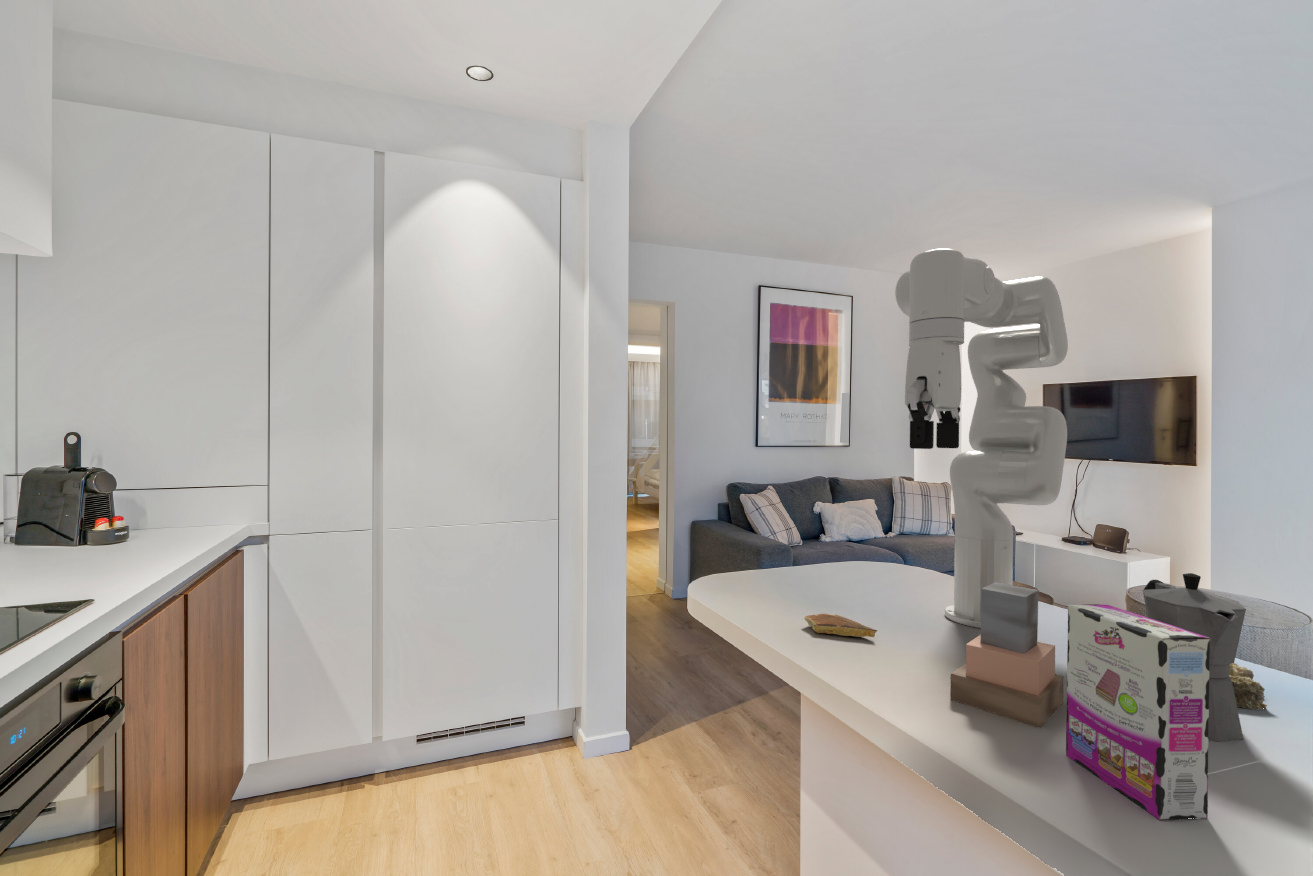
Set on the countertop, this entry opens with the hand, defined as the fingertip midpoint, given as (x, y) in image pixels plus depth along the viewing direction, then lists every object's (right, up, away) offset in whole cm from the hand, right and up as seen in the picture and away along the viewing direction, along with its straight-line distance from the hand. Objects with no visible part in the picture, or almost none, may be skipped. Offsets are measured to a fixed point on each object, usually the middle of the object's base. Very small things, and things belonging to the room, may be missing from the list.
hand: (934, 448), depth 89 cm
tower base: (+3, -33, -13) cm, 36 cm away
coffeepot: (+22, -33, -18) cm, 43 cm away
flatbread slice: (-6, -34, +13) cm, 36 cm away
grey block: (+3, -25, -13) cm, 28 cm away
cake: (+34, -33, -10) cm, 48 cm away
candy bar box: (+4, -33, -31) cm, 45 cm away
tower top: (+3, -29, -14) cm, 32 cm away
